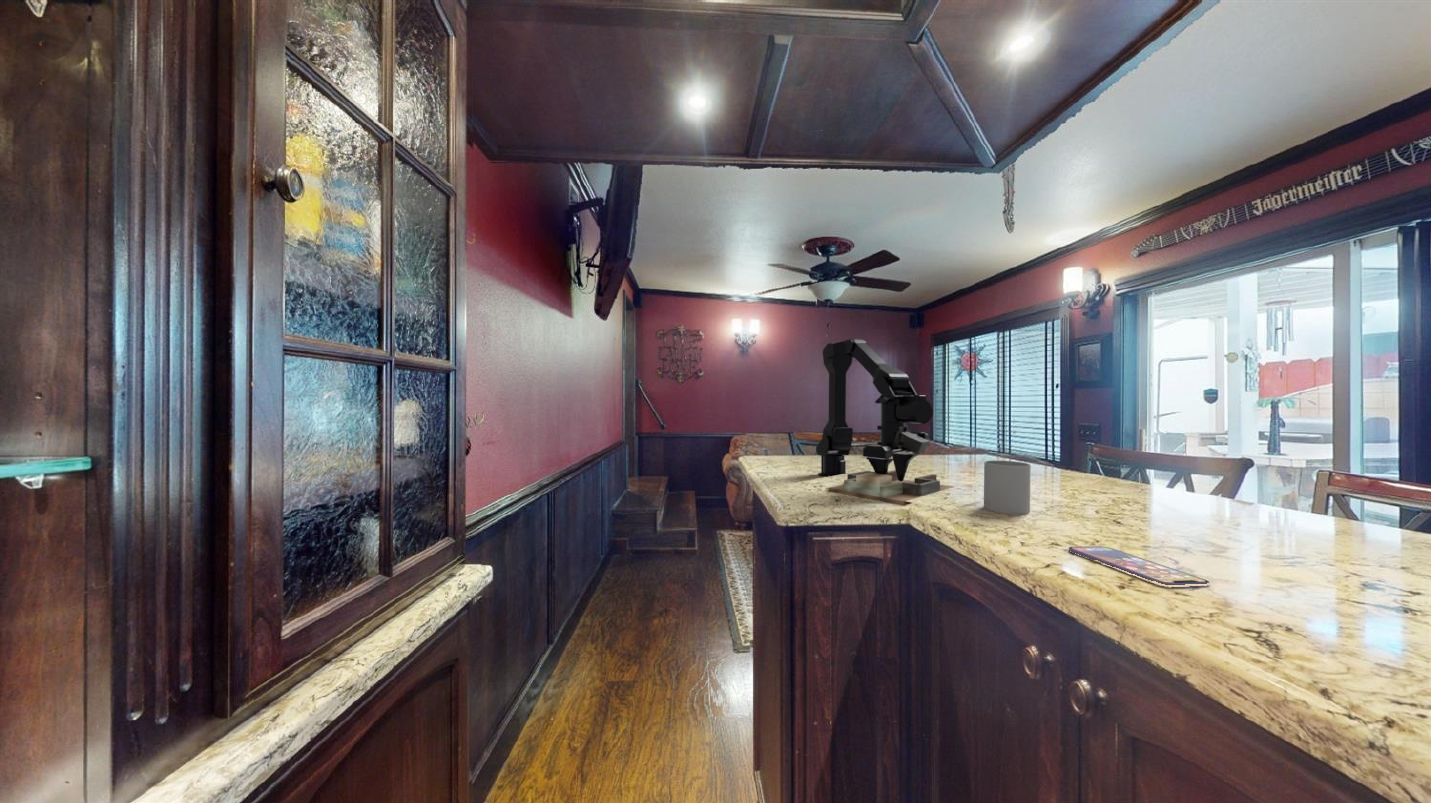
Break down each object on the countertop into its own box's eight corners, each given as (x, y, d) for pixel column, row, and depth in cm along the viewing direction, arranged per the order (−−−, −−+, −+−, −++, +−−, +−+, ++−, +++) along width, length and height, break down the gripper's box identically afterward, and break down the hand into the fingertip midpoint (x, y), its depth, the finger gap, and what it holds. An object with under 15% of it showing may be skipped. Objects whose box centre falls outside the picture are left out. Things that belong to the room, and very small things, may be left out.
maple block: (855, 491, 116) (856, 475, 116) (869, 488, 120) (869, 472, 120) (878, 495, 112) (878, 478, 112) (891, 492, 116) (891, 475, 116)
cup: (1017, 505, 106) (1017, 460, 106) (1038, 515, 98) (1038, 466, 98) (977, 504, 107) (977, 460, 107) (994, 514, 99) (995, 465, 99)
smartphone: (1105, 551, 77) (1214, 589, 62) (1064, 552, 76) (1164, 590, 61) (1106, 546, 77) (1214, 582, 62) (1064, 546, 76) (1165, 583, 61)
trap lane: (828, 491, 121) (828, 477, 121) (882, 479, 138) (882, 467, 138) (903, 505, 106) (903, 489, 106) (954, 490, 123) (954, 477, 123)
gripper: (904, 424, 109) (904, 493, 110) (941, 421, 122) (940, 483, 122) (861, 422, 118) (861, 486, 118) (899, 420, 130) (899, 477, 130)
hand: (892, 483), depth 122 cm, fingers open, 8 cm apart
